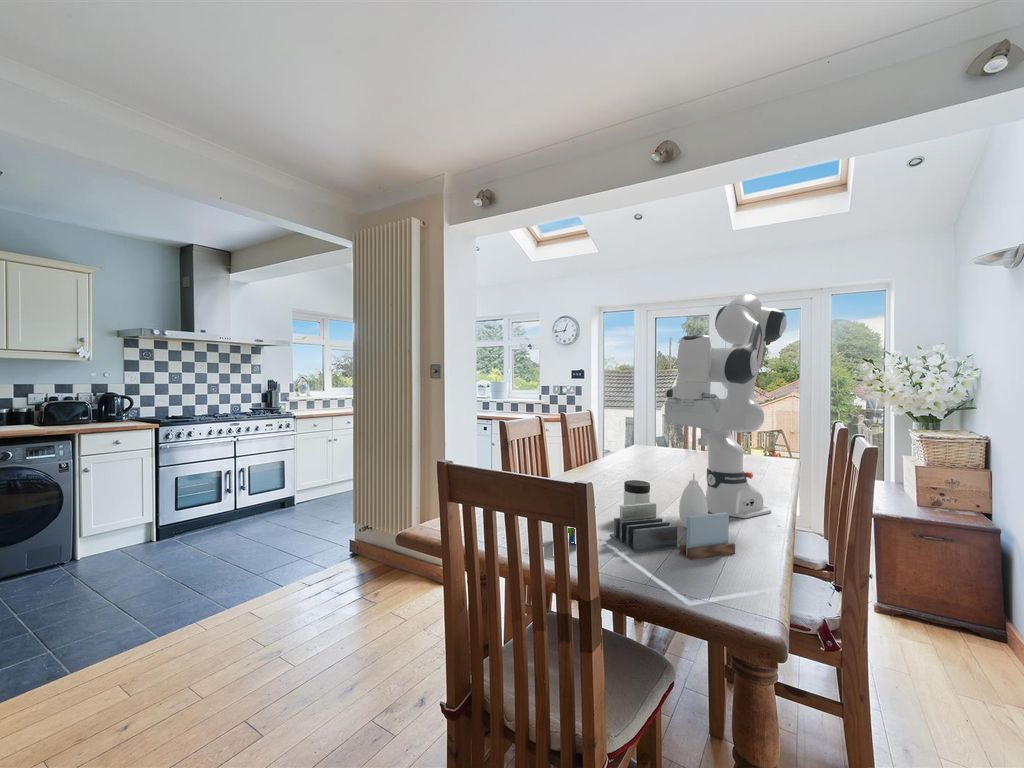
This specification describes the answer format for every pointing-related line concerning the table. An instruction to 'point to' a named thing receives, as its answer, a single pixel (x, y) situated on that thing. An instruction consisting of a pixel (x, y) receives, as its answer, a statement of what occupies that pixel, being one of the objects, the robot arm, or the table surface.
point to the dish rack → (644, 529)
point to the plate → (707, 530)
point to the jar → (636, 492)
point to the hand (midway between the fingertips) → (691, 443)
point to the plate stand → (707, 551)
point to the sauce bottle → (692, 502)
